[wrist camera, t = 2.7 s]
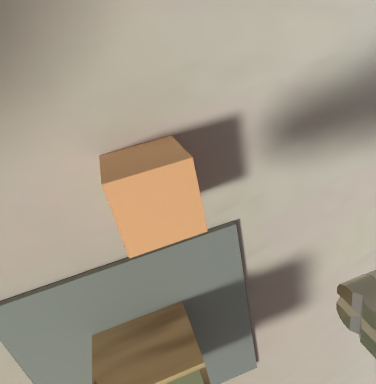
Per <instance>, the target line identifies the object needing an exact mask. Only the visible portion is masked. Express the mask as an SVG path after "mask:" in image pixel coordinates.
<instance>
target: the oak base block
mask: <svg viewBox="0 0 376 384" xmlns="http://www.w3.org/2000/svg"><path fill="white" fill-rule="evenodd" d="M196 370H199V371H200V373H201V376H202V379H203V382H204V384H210V380H209V377H208V373H207V370H206V366H205V363H204V360H203V357H202V354H201V352H200V349H199V346H198V343H197V341H196V338H195V335H194V332H193V330H192V327H191V324H190V321H189V319H188V316H187V313H186V310H185V308H184V305H183V302H182V301H181V302H178V303H175V304H173V305H170V306H167V307H165V308H162V309H160V310H157V311H154V312H152V313H149V314H146V315H144V316H141V317H139V318H136V319H133V320H131V321H128V322H125V323H123V324H120V325H118V326H115V327H112V328H110V329H107V330H104V331H102V332H99V333H97V334H94V335H92V382H93V381H96V383H97V384H166V383H168V382H171V381H173V380H175V379H178V378H180V377H182V376H185V375H187V374H189V373H192V372H194V371H196Z"/></svg>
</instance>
